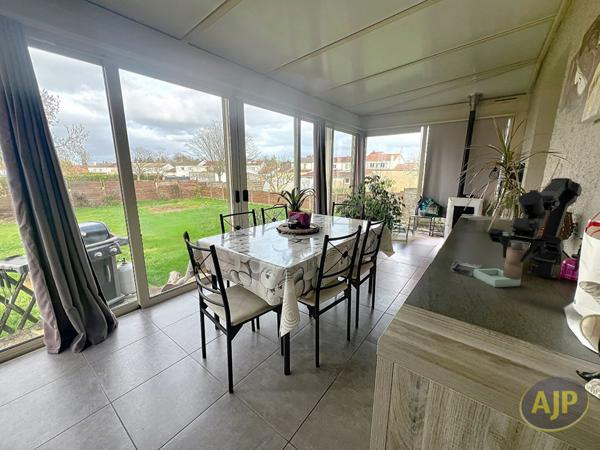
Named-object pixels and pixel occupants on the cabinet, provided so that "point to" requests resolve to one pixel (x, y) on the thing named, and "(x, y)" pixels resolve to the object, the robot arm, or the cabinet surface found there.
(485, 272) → the tray
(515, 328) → the cabinet surface
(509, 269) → the pepper mill
